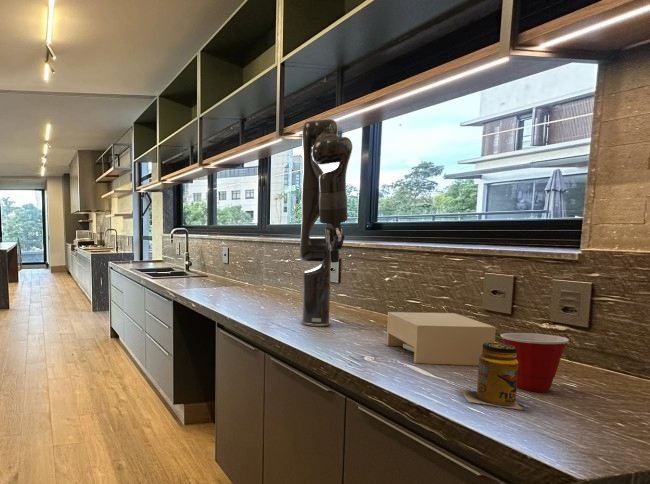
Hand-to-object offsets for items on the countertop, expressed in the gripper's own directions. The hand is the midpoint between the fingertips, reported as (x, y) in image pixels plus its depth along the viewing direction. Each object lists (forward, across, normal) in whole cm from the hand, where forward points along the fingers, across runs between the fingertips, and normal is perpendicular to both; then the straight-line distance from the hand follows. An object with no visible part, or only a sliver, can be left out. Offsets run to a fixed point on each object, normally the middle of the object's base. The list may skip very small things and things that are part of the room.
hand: (334, 261), depth 129 cm
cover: (+27, -12, -23) cm, 37 cm away
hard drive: (+27, -12, -22) cm, 37 cm away
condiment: (+22, -45, -18) cm, 53 cm away
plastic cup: (+24, -36, -30) cm, 53 cm away
